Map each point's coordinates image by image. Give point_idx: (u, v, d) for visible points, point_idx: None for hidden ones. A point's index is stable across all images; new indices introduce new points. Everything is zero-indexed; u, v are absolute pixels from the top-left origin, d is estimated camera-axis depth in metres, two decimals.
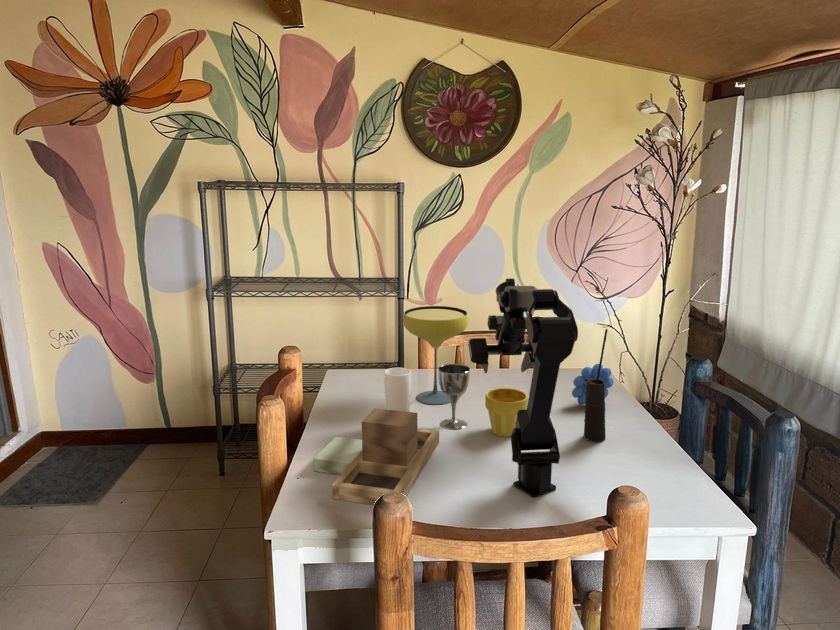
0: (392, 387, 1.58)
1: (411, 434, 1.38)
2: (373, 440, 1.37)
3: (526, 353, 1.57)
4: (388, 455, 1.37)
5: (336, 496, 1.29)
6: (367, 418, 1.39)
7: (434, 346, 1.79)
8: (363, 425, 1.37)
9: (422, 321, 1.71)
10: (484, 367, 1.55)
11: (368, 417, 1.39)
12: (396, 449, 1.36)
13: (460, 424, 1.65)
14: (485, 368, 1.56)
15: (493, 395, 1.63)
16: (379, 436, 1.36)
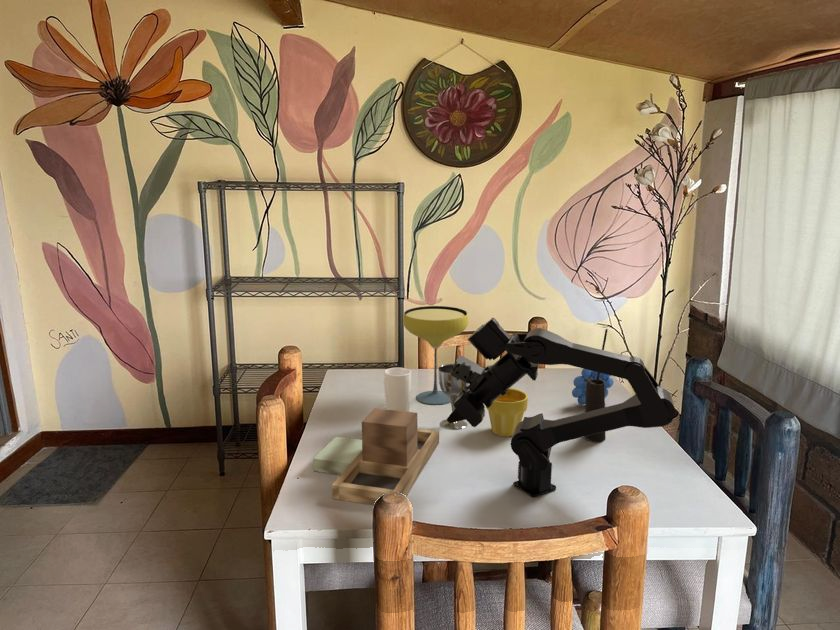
0: (392, 387, 1.58)
1: (411, 434, 1.38)
2: (373, 440, 1.37)
3: None
4: (388, 455, 1.37)
5: (336, 496, 1.29)
6: (367, 418, 1.39)
7: (434, 346, 1.79)
8: (363, 425, 1.37)
9: (422, 321, 1.71)
10: None
11: (368, 417, 1.39)
12: (396, 449, 1.36)
13: (460, 424, 1.65)
14: None
15: None
16: (379, 436, 1.36)
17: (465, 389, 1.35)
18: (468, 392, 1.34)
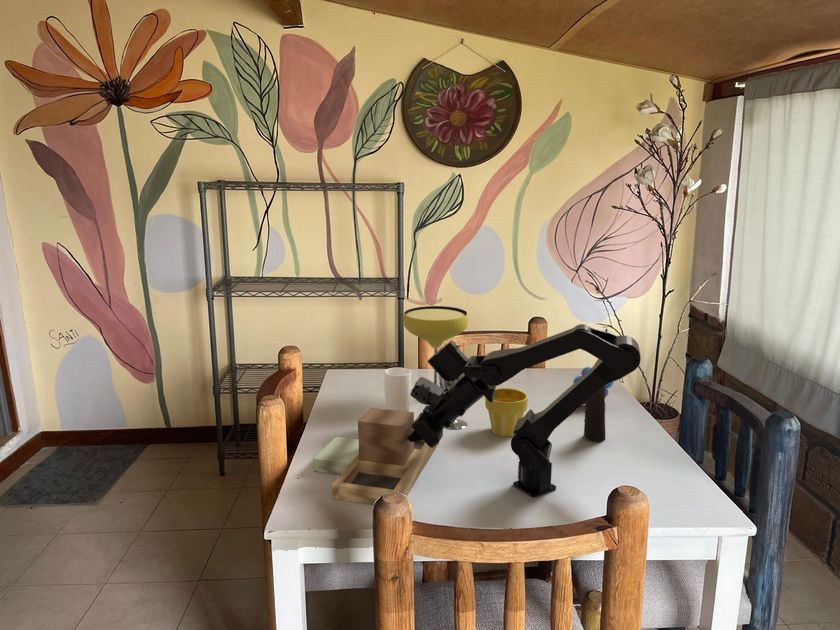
0: (392, 387, 1.58)
1: (408, 433, 1.39)
2: (369, 440, 1.37)
3: None
4: (385, 454, 1.37)
5: (336, 496, 1.29)
6: (363, 417, 1.39)
7: (434, 346, 1.79)
8: (359, 424, 1.37)
9: (422, 321, 1.71)
10: None
11: (364, 416, 1.39)
12: (392, 448, 1.36)
13: (460, 424, 1.65)
14: None
15: None
16: (375, 436, 1.37)
17: (426, 409, 1.38)
18: (429, 412, 1.38)
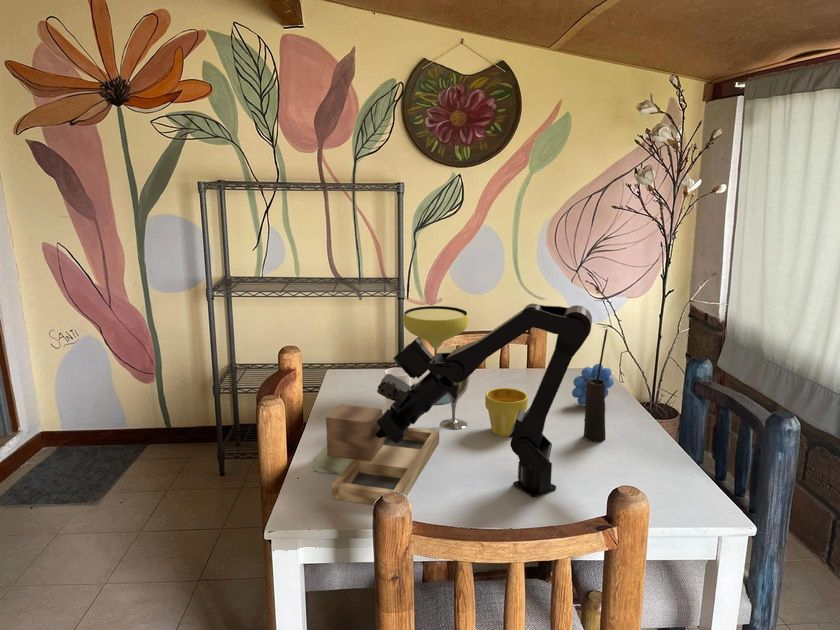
0: None
1: (375, 429, 1.41)
2: (337, 436, 1.39)
3: None
4: (352, 450, 1.39)
5: (336, 496, 1.29)
6: (332, 414, 1.41)
7: (434, 346, 1.79)
8: (328, 421, 1.39)
9: (422, 321, 1.71)
10: None
11: (333, 413, 1.41)
12: (360, 444, 1.38)
13: (460, 424, 1.65)
14: None
15: (493, 395, 1.63)
16: (343, 432, 1.39)
17: (393, 405, 1.40)
18: (396, 408, 1.40)
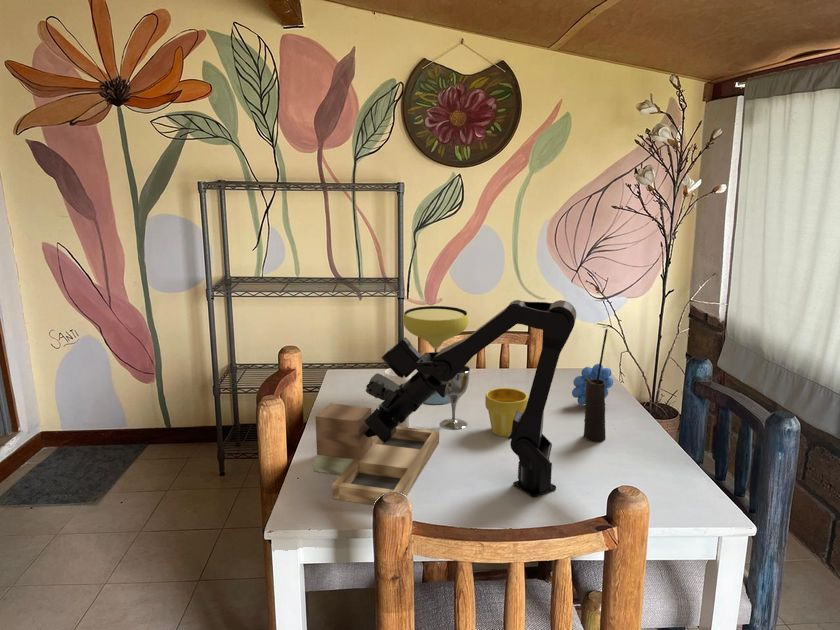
0: None
1: (364, 428, 1.41)
2: (326, 435, 1.40)
3: None
4: (341, 449, 1.40)
5: (336, 496, 1.29)
6: (321, 413, 1.41)
7: (434, 346, 1.79)
8: (317, 420, 1.40)
9: (422, 321, 1.71)
10: None
11: (322, 412, 1.42)
12: (349, 443, 1.39)
13: (460, 424, 1.65)
14: None
15: (493, 395, 1.63)
16: (332, 430, 1.39)
17: (382, 405, 1.41)
18: (385, 408, 1.40)
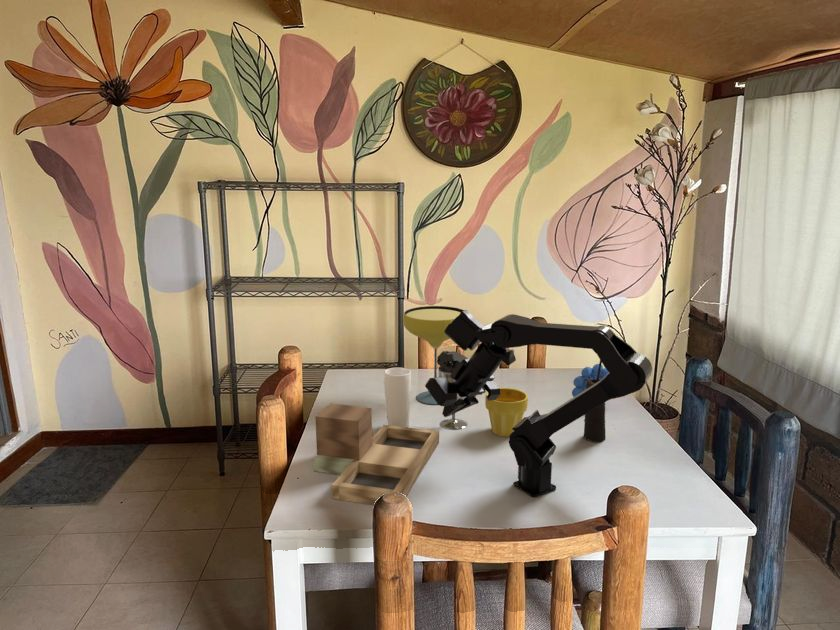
0: (392, 387, 1.58)
1: (364, 428, 1.41)
2: (326, 435, 1.40)
3: None
4: (341, 449, 1.40)
5: (336, 496, 1.29)
6: (321, 413, 1.41)
7: (434, 346, 1.79)
8: (317, 420, 1.40)
9: (422, 321, 1.71)
10: (456, 409, 1.37)
11: (322, 412, 1.42)
12: (349, 443, 1.39)
13: (460, 424, 1.65)
14: (454, 410, 1.38)
15: None
16: (332, 430, 1.39)
17: None
18: None
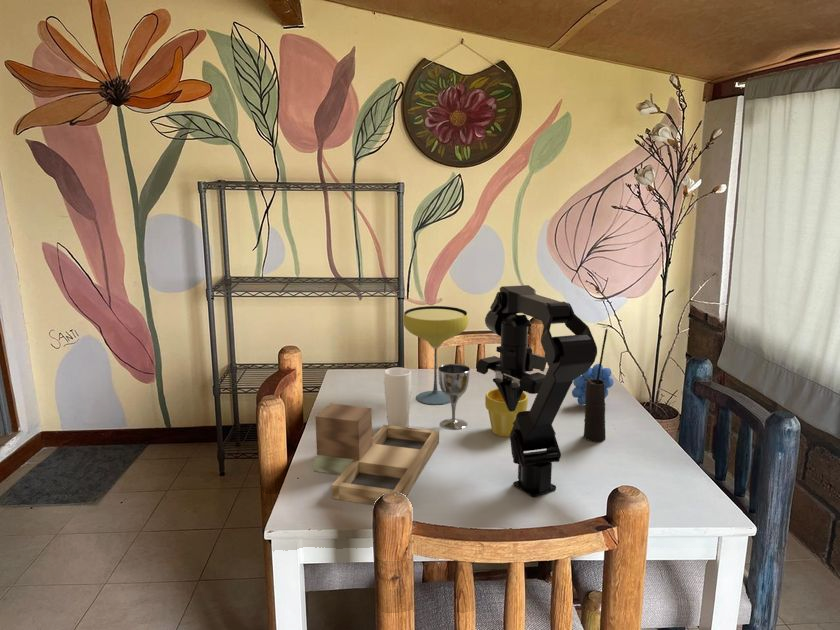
0: (392, 387, 1.58)
1: (364, 428, 1.41)
2: (326, 435, 1.40)
3: None
4: (341, 449, 1.40)
5: (336, 496, 1.29)
6: (321, 413, 1.41)
7: (434, 346, 1.79)
8: (317, 420, 1.40)
9: (422, 321, 1.71)
10: (501, 392, 1.42)
11: (322, 412, 1.42)
12: (349, 443, 1.39)
13: (460, 424, 1.65)
14: (503, 395, 1.42)
15: (493, 395, 1.63)
16: (332, 430, 1.39)
17: None
18: None
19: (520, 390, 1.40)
